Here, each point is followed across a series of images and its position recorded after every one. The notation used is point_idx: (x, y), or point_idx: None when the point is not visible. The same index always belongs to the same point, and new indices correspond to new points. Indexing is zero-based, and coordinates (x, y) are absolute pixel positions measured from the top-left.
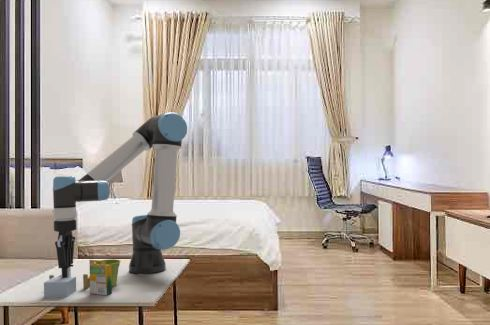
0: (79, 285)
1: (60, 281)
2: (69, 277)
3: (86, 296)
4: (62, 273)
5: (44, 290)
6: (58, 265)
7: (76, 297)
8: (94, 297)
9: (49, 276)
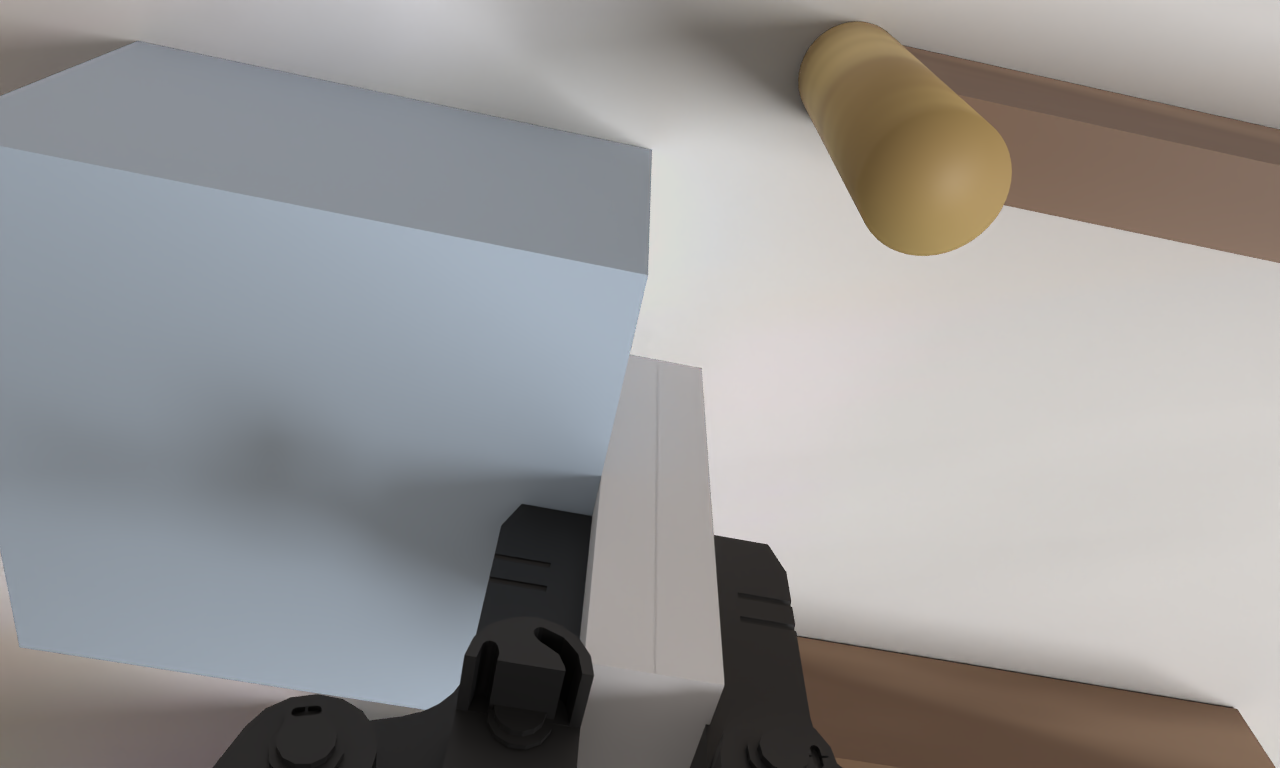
0: (961, 535)
1: (76, 518)
2: None
3: (155, 679)
4: (490, 586)
5: (56, 86)
6: (223, 760)
7: None
8: (98, 756)
9: (890, 117)
